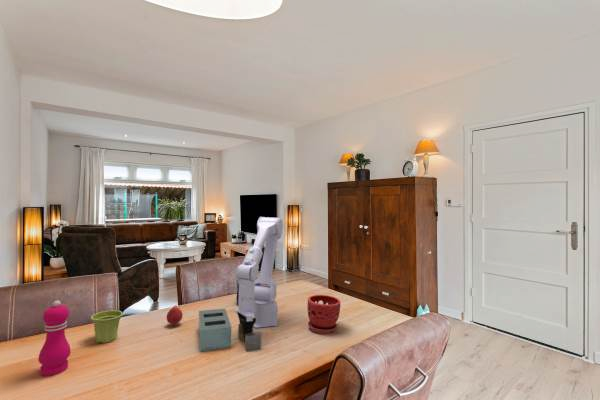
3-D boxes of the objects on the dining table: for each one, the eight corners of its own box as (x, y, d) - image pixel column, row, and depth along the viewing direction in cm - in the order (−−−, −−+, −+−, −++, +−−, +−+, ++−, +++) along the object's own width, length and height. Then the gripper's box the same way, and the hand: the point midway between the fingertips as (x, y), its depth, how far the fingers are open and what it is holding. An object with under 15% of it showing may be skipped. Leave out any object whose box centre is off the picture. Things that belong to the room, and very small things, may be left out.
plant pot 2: (317, 338, 112) (318, 306, 112) (301, 325, 124) (301, 296, 124) (346, 332, 118) (347, 301, 118) (328, 320, 130) (328, 292, 130)
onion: (176, 329, 117) (176, 308, 117) (163, 327, 118) (163, 307, 118) (184, 323, 123) (185, 303, 123) (172, 322, 124) (172, 302, 124)
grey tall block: (259, 346, 105) (259, 332, 105) (260, 349, 103) (261, 334, 103) (245, 348, 103) (245, 333, 103) (246, 351, 101) (246, 336, 102)
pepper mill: (50, 363, 91) (52, 296, 91) (75, 363, 91) (78, 296, 92) (30, 377, 83) (33, 304, 84) (58, 377, 84) (61, 304, 84)
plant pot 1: (117, 331, 114) (118, 308, 114) (124, 339, 107) (125, 315, 107) (87, 338, 107) (88, 314, 108) (93, 348, 101) (94, 322, 101)
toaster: (224, 325, 122) (225, 308, 122) (230, 347, 104) (231, 326, 104) (198, 328, 118) (199, 310, 118) (200, 351, 100) (200, 330, 100)
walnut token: (251, 336, 113) (251, 322, 113) (252, 338, 111) (252, 324, 111) (238, 337, 111) (238, 324, 112) (238, 340, 110) (239, 326, 110)
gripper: (232, 292, 117) (231, 327, 117) (238, 304, 103) (237, 344, 103) (250, 290, 119) (249, 325, 119) (258, 302, 106) (257, 341, 106)
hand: (245, 333), depth 111 cm, fingers open, 6 cm apart
